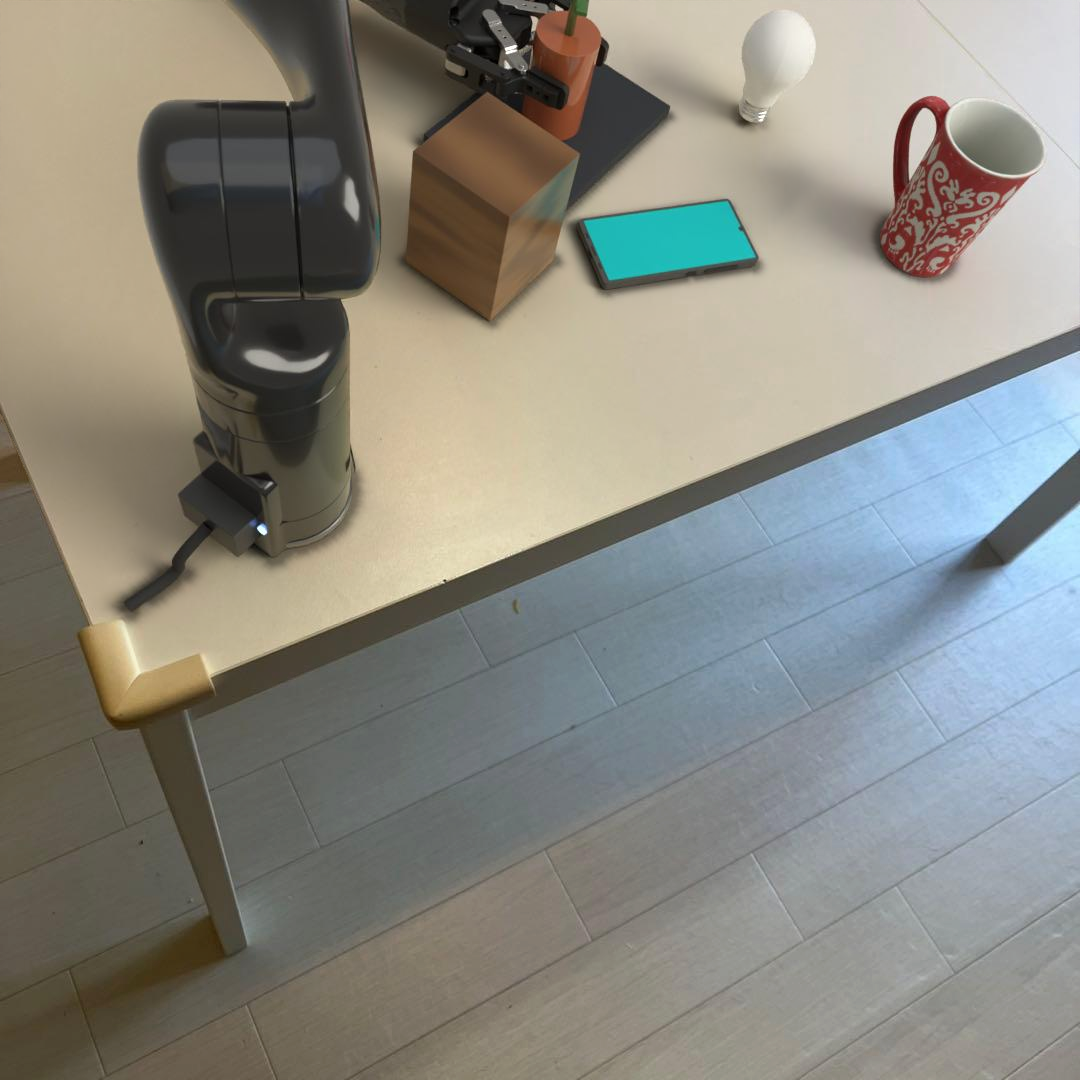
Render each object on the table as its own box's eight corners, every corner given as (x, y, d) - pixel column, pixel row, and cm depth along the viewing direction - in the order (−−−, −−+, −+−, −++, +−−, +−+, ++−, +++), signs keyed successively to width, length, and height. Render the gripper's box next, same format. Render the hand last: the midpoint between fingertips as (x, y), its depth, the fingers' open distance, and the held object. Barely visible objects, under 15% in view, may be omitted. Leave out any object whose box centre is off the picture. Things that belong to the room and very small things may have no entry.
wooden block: (489, 321, 84) (509, 217, 73) (405, 262, 85) (412, 150, 75) (553, 260, 88) (580, 153, 77) (471, 204, 89) (487, 91, 79)
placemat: (546, 229, 90) (549, 219, 88) (422, 144, 92) (423, 133, 91) (667, 116, 98) (670, 106, 97) (551, 41, 100) (553, 30, 99)
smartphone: (577, 219, 89) (729, 198, 93) (575, 225, 90) (726, 204, 94) (605, 284, 87) (760, 260, 91) (603, 291, 87) (757, 266, 91)
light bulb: (779, 150, 99) (826, 52, 89) (713, 132, 98) (753, 32, 89) (784, 103, 102) (829, 4, 92) (720, 86, 102) (759, -15, 92)
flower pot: (557, 150, 92) (604, -58, 75) (508, 117, 93) (544, -96, 76) (593, 118, 95) (647, -90, 77) (545, 87, 96) (588, -126, 78)
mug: (980, 269, 96) (1069, 159, 84) (910, 298, 93) (992, 188, 81) (900, 175, 100) (974, 57, 88) (830, 200, 97) (896, 81, 85)
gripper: (379, -11, 83) (553, 85, 82) (472, -91, 90) (635, -4, 88) (377, 67, 90) (538, 157, 88) (464, -13, 97) (615, 69, 95)
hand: (586, 76), depth 88 cm, fingers open, 6 cm apart
